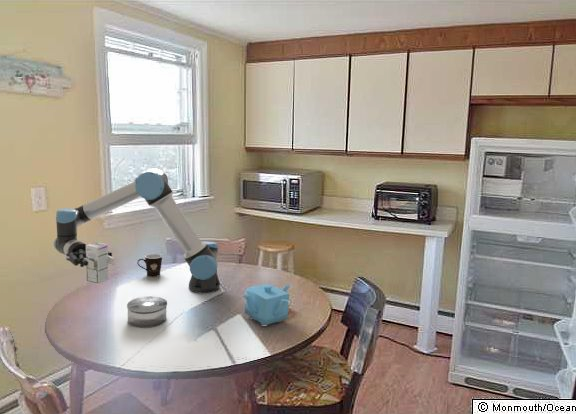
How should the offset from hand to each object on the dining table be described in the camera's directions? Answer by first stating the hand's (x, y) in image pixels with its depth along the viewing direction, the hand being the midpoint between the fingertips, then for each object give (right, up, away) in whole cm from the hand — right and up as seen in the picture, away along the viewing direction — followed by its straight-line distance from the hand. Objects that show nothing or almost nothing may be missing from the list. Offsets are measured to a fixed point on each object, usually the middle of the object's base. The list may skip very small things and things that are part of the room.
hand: (103, 263), depth 157 cm
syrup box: (-4, -7, +5) cm, 10 cm away
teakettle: (+61, -26, +15) cm, 68 cm away
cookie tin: (+14, -24, +9) cm, 29 cm away
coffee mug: (-2, -14, +61) cm, 62 cm away
